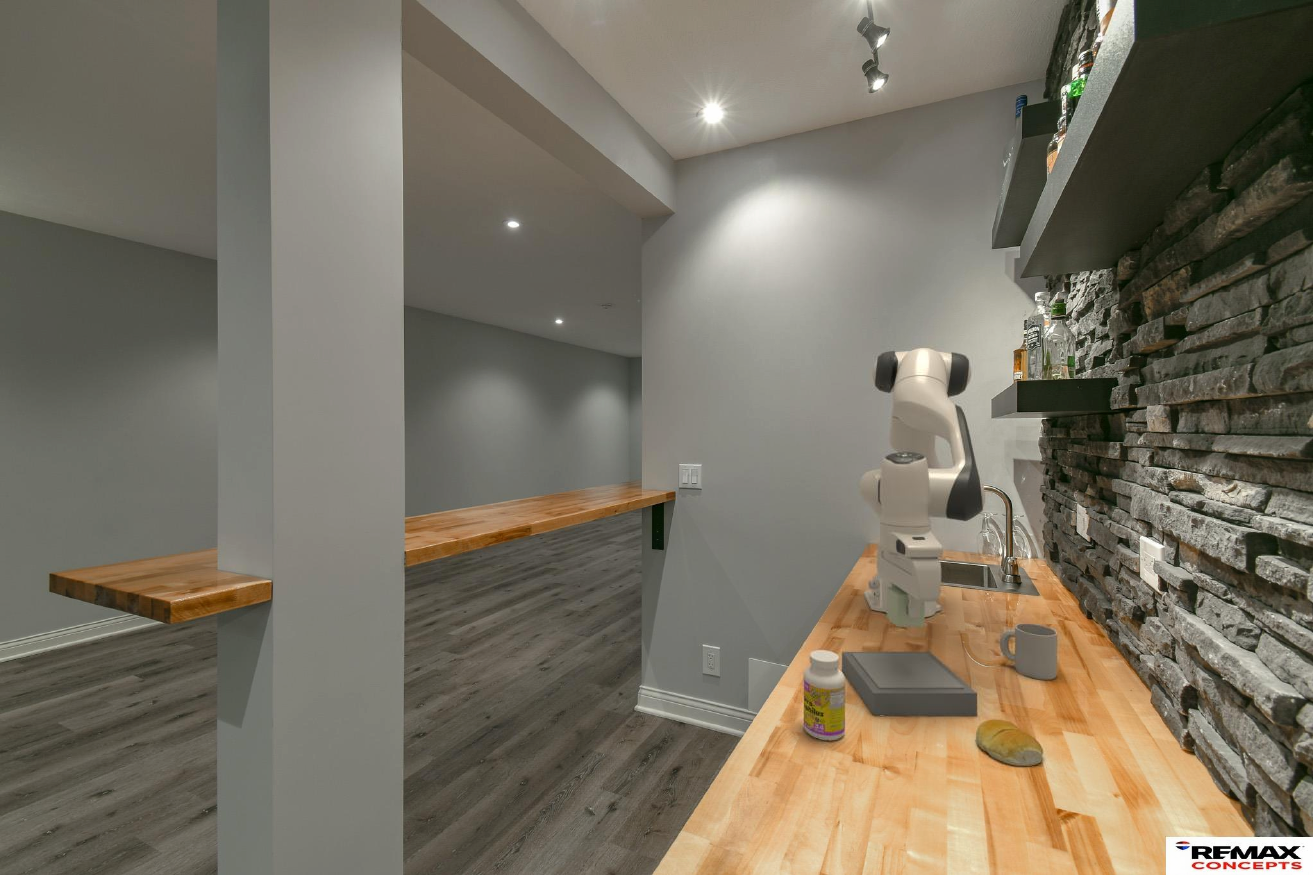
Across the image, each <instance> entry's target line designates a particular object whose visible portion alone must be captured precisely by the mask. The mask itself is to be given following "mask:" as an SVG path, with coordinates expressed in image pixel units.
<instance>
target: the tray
mask: <svg viewBox="0 0 1313 875" xmlns="http://www.w3.org/2000/svg"><path fill="white" fill-rule="evenodd" d="M841 672H842V673H843V672H844V673H843V674H844V676H845V678H846V679H847V678H848V679H847V680H848V681H849V683H850V682H851V683H850V684H851V686H852V685H853V686H854V687H853V686H852V687H853V688H855V689H854V690H855V691H856V693H857V692H858V693H857V694H858V696H859V695H860V696H859V697H860V699H861V700H862V701H863V703H864V704H865V705H866V707H867V709H868V710H869V711H870V713H871V714H872V716H875V717H878V716H879V717H881V716H880V715H884V716H883V717H887V716H889V717H893V716H895V717H899V716H900V717H903V716H904V717H909V716H910V717H916V716H917V717H919V716H920V717H922V716H923V717H927V716H928V717H940V716H941V717H942V716H943V717H945V716H946V717H949V716H950V717H951V716H952V717H958V716H959V717H960V716H961V717H973V716H974V717H975V716H976V717H977V716H978V692H976V690H975V689H973V688H972V687H971V686H969V685H968V684H967V683H966V682H965V681H964V680H963V679H962V678H961V677H960V676H958V675H957V674H956V673H955V672H954V671H952V670H951V668H949V667H948V666H947V665H946V664H944V663H943V662H942V661H941V660H940V659H939V658H938V657H937V656H936V655H934V654H933V653H932V652H931V651H841Z"/></svg>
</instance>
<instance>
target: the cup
mask: <svg viewBox="0 0 1313 875" xmlns="http://www.w3.org/2000/svg"><path fill="white" fill-rule="evenodd" d="M1011 638H1014V653H1012V652H1011V651H1010V647H1009V641H1010V639H1011ZM999 648H1000V651H1001V653H1002V656H1004V657H1005V659H1006V660H1009V661H1010V662H1013V663H1014V668H1015V669H1016V671H1017V673H1018V674H1021V675H1022V676H1024V677H1027V678H1029V679H1035V680H1040V681H1051V680H1054V679H1055V678H1056V677H1057V676H1058V631H1057V630H1055V629H1054V628H1052V627H1050V626H1045V625H1042V624H1036V623H1030V622H1029V623H1027V622H1026V623H1025V622H1023V623H1022V622H1021V623H1016V624H1015V626H1014V629H1012V628H1011V629H1006V630H1004V631H1003V632H1002V633H1001V635H1000V638H999Z"/></svg>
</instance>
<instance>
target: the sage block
mask: <svg viewBox="0 0 1313 875" xmlns="http://www.w3.org/2000/svg"><path fill="white" fill-rule="evenodd" d="M908 605H909V599H908V594H907V593H906V592H904V591H903V590H902V589H900V588H899V587H887V613H886V619H888V620H889V622H891V623H892V624H894V625H895V626H896V627H897V628H904V627H905V628H908V627H909V628H911V627H912V628H917V627H918V628H919V627H920V628H921V627H923V628H924V627H926V626H925V625H926V624H925V623H926V619H925V618H926V617H925V602H922V604H921V606H920V608H919V617H918V618H911V617H909V616H908V615H907V614H906V611H907V610H906V606H908Z"/></svg>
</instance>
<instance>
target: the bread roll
mask: <svg viewBox="0 0 1313 875" xmlns="http://www.w3.org/2000/svg"><path fill="white" fill-rule="evenodd" d="M975 738H976V743H977V745H978V747H979V748H980V749H981V750H982V751H984V752H987V753H988V754H989V756H991V757H992V758H994V759H996V760H998V761H1000V762H1001V763H1005V764H1007V765H1012V766H1016V767H1027V766H1028V767H1030V766H1034V765H1038V764H1040V763H1041V761H1042V760H1043V754H1044V749H1043V746H1042V745H1041V744H1040V742H1039V741H1038V740H1037V738H1035V737H1033V736H1032V735H1031V734H1029V733H1028V731H1027V732H1026V731H1024V730H1022V729H1021V728H1020V727H1019V726H1018V725H1016V724H1014V723H1013V722H1011V721H1008V720H1004V719H996V718H995V719H988V720H985V721H983V722H981V724H979V725H978V727H977V730H976V734H975Z"/></svg>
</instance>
